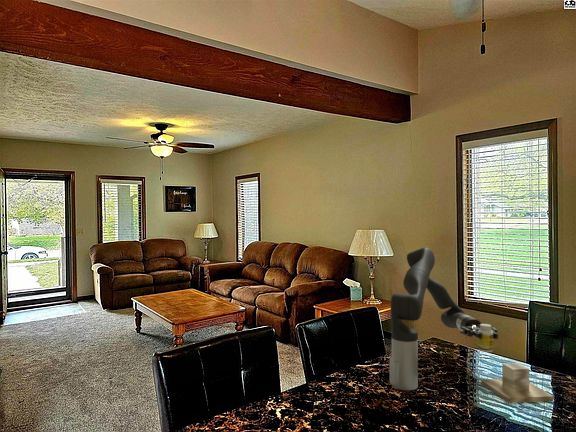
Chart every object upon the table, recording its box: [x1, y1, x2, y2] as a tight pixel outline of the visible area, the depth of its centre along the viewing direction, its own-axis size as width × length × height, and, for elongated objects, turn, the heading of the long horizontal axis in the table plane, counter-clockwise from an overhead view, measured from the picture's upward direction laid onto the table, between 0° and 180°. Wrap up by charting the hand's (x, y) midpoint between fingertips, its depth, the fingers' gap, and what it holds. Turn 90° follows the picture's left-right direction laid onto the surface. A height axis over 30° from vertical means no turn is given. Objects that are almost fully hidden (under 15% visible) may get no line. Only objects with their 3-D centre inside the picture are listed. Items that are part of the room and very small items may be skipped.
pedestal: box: [480, 362, 554, 404], centre depth 147 cm, size 16×16×9 cm
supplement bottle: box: [477, 323, 494, 353], centre depth 161 cm, size 5×5×10 cm
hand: (488, 336), depth 159 cm, fingers closed on supplement bottle, 5 cm apart
